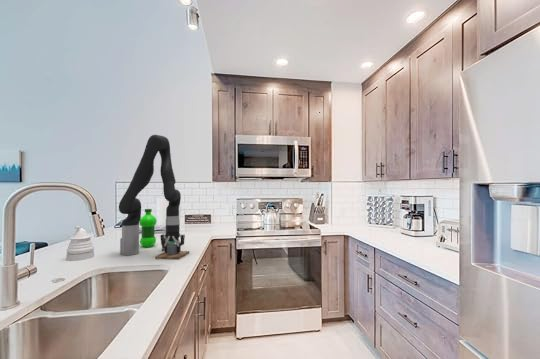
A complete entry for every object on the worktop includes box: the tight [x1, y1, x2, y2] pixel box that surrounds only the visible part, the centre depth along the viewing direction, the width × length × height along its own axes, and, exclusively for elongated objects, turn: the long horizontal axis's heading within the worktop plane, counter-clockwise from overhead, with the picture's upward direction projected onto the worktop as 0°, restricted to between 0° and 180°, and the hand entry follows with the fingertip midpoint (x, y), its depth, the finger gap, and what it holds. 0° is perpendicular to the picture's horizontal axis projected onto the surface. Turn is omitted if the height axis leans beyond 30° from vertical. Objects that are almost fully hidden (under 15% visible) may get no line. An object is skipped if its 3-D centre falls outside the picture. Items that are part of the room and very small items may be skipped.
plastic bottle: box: [139, 208, 158, 248], centre depth 181 cm, size 10×10×25 cm
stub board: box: [154, 250, 190, 261], centre depth 156 cm, size 14×14×5 cm
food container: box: [161, 236, 176, 252], centre depth 173 cm, size 12×6×10 cm, turn 168°
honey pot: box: [65, 225, 95, 262], centre depth 153 cm, size 13×13×18 cm
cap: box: [167, 243, 178, 255], centre depth 156 cm, size 6×6×5 cm
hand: (172, 252), depth 156 cm, fingers closed on cap, 6 cm apart
